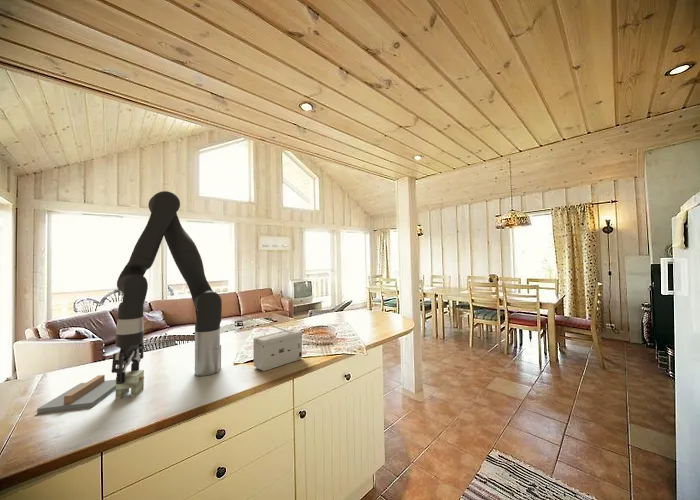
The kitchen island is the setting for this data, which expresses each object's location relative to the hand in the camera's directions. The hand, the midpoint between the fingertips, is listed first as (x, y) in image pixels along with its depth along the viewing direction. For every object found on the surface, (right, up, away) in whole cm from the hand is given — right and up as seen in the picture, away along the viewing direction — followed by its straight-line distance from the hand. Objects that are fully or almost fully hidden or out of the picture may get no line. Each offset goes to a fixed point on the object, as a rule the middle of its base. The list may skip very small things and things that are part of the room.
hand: (128, 378), depth 95 cm
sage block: (+1, -5, 0) cm, 5 cm away
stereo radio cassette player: (+46, -6, +26) cm, 53 cm away
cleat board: (-13, -6, -1) cm, 14 cm away
